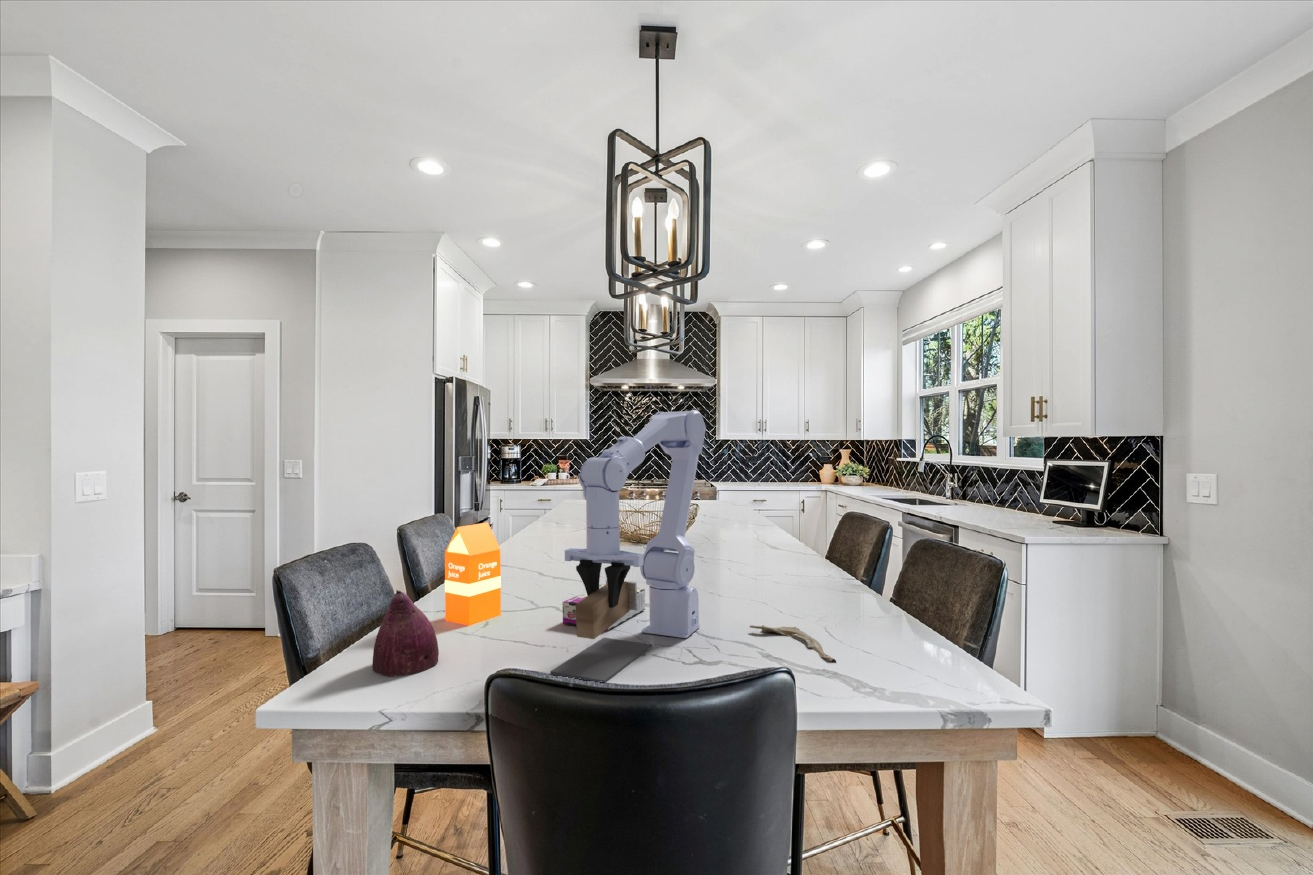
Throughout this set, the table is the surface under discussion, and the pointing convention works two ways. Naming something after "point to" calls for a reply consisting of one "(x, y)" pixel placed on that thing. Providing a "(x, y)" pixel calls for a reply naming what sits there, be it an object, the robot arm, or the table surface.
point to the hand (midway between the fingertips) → (603, 605)
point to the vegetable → (404, 640)
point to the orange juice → (472, 575)
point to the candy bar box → (569, 605)
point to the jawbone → (798, 638)
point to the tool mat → (602, 659)
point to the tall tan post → (603, 610)
